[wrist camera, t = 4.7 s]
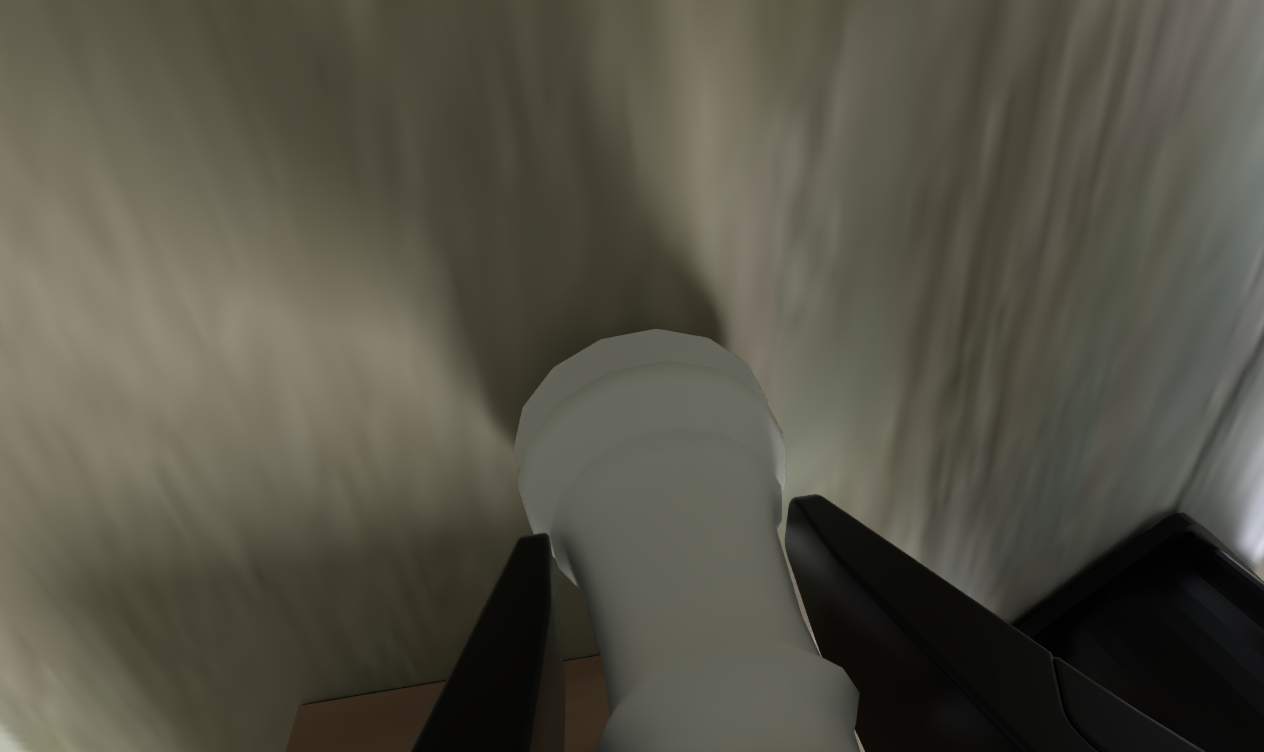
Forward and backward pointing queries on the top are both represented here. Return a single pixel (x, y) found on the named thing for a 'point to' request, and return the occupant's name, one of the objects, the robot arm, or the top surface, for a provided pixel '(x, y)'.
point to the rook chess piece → (679, 548)
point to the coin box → (391, 721)
